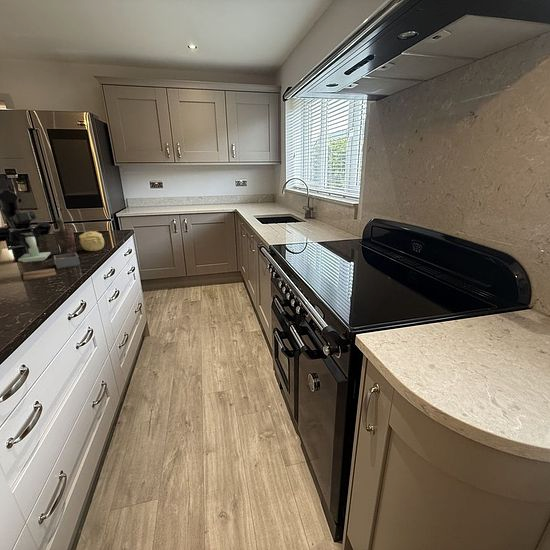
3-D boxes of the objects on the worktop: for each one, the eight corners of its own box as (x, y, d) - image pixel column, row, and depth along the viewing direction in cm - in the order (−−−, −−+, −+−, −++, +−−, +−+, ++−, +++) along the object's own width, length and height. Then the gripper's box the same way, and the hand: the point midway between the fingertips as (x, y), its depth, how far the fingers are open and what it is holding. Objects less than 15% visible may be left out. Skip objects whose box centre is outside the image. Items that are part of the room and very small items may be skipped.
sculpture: (80, 253, 163) (76, 233, 159) (84, 248, 173) (80, 230, 170) (104, 251, 167) (101, 232, 164) (106, 246, 178) (102, 228, 174)
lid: (25, 257, 129) (19, 236, 126) (51, 255, 132) (45, 234, 129) (19, 263, 121) (12, 240, 118) (46, 260, 125) (40, 238, 122)
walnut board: (23, 274, 130) (23, 272, 130) (54, 269, 136) (54, 267, 136) (23, 280, 122) (23, 279, 122) (56, 275, 128) (56, 273, 128)
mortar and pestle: (82, 254, 161) (74, 216, 155) (64, 257, 155) (54, 218, 149) (74, 250, 168) (66, 214, 162) (56, 253, 162) (47, 216, 156)
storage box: (55, 264, 143) (53, 255, 141) (77, 261, 148) (75, 252, 147) (57, 269, 136) (54, 259, 135) (80, 265, 142) (78, 256, 140)
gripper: (-13, 207, 114) (7, 239, 112) (43, 203, 129) (62, 231, 127) (-14, 226, 121) (5, 256, 119) (39, 220, 136) (57, 247, 134)
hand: (33, 247), depth 124 cm, fingers closed on lid, 3 cm apart
